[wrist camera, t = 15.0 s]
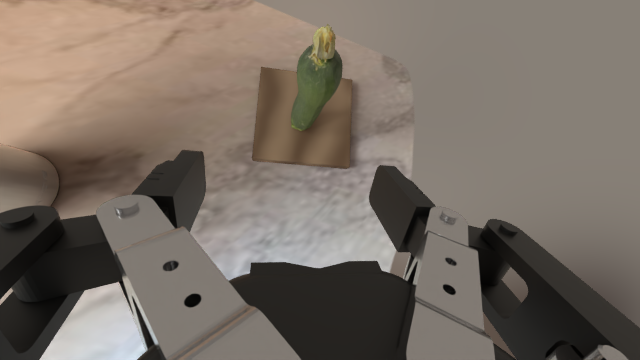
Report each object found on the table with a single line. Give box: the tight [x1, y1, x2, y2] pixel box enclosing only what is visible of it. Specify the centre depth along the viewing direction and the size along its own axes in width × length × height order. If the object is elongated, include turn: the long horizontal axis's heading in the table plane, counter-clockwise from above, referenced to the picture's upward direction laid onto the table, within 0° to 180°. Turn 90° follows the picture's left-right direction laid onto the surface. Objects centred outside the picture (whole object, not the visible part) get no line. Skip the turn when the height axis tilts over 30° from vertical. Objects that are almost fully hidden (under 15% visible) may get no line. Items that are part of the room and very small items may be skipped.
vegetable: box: [291, 24, 342, 131], centre depth 27 cm, size 4×4×20 cm
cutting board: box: [252, 67, 352, 169], centre depth 38 cm, size 14×14×2 cm
